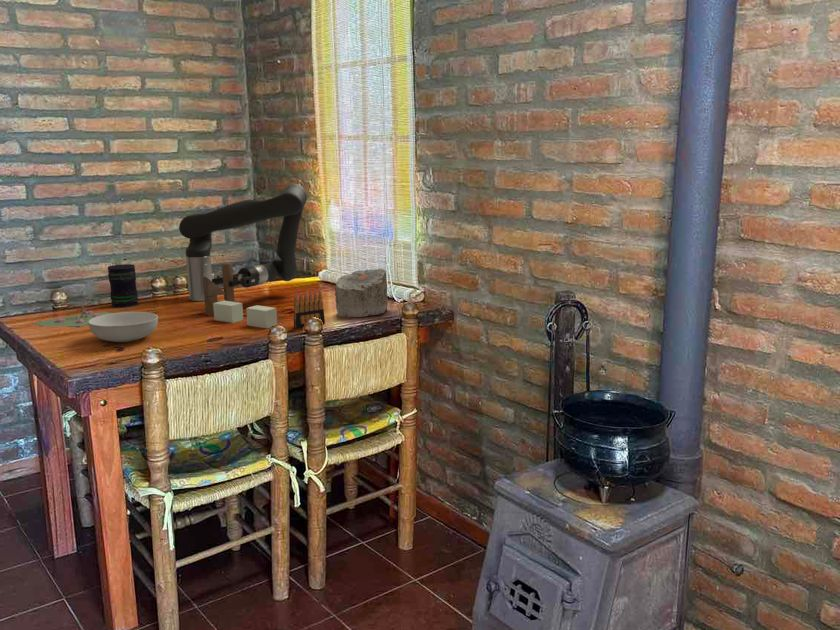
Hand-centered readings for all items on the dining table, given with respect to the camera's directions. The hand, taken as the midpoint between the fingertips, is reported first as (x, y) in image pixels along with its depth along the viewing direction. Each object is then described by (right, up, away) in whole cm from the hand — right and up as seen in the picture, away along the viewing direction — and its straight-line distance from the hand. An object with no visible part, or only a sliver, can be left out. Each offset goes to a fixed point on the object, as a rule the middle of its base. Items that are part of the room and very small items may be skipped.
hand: (220, 283), depth 286 cm
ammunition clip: (+34, -15, -18) cm, 42 cm away
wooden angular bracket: (0, -11, +2) cm, 11 cm away
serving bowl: (-23, -19, -31) cm, 43 cm away
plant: (-51, -14, -5) cm, 53 cm away
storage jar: (-41, -8, +19) cm, 46 cm away
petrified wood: (+51, -11, 0) cm, 52 cm away
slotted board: (+12, -14, -13) cm, 22 cm away
